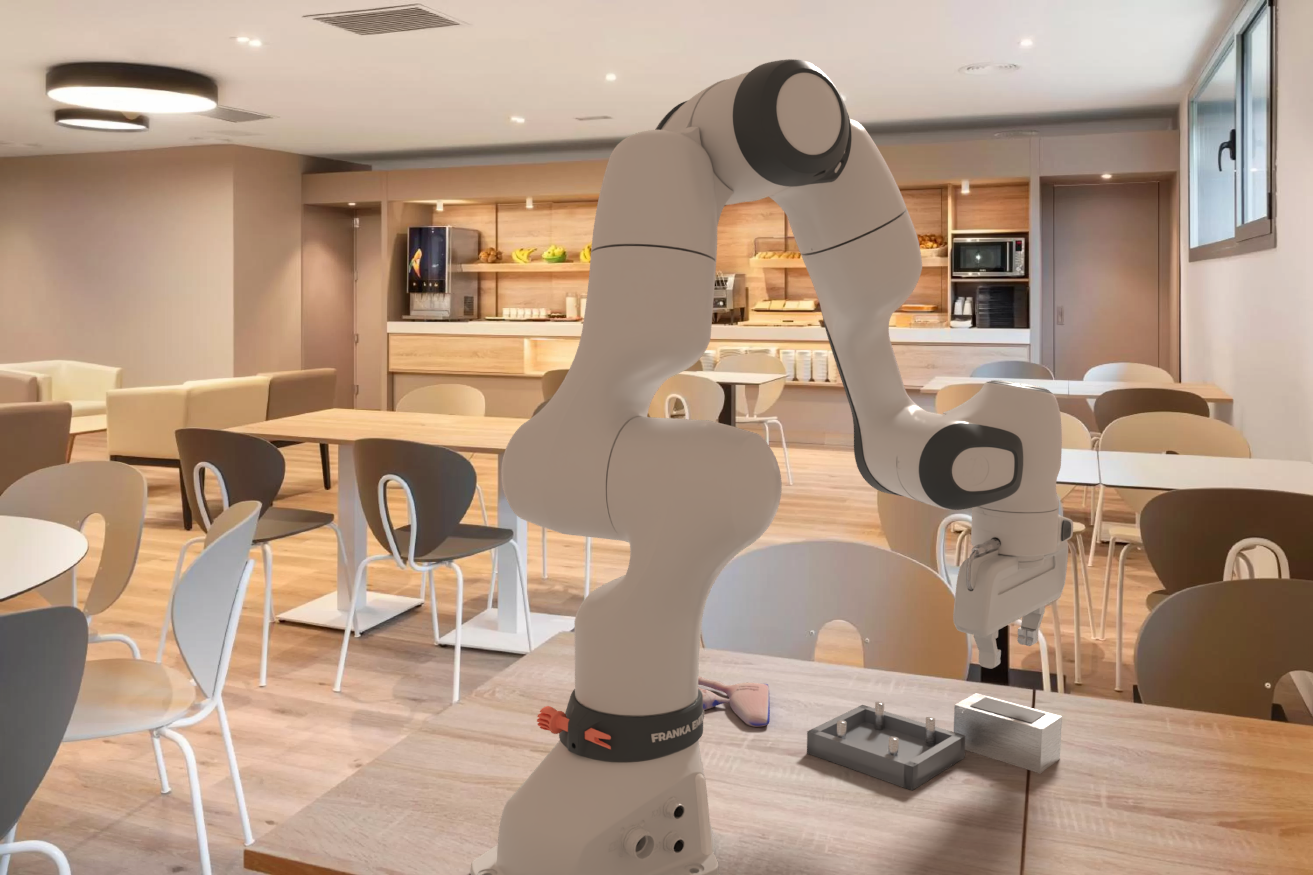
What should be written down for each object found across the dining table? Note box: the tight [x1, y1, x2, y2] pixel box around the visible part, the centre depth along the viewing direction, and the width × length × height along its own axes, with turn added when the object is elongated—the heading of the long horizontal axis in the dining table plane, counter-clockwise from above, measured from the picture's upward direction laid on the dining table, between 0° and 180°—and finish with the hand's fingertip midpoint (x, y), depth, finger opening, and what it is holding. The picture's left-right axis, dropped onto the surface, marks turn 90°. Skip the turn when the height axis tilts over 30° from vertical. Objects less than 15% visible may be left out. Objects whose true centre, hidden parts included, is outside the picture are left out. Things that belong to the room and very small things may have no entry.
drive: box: [953, 692, 1063, 774], centre depth 116 cm, size 5×10×5 cm, turn 46°
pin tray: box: [806, 701, 966, 791], centre depth 115 cm, size 11×13×4 cm
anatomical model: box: [698, 675, 771, 728], centre depth 131 cm, size 20×3×15 cm
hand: (1009, 654), depth 116 cm, fingers open, 8 cm apart
